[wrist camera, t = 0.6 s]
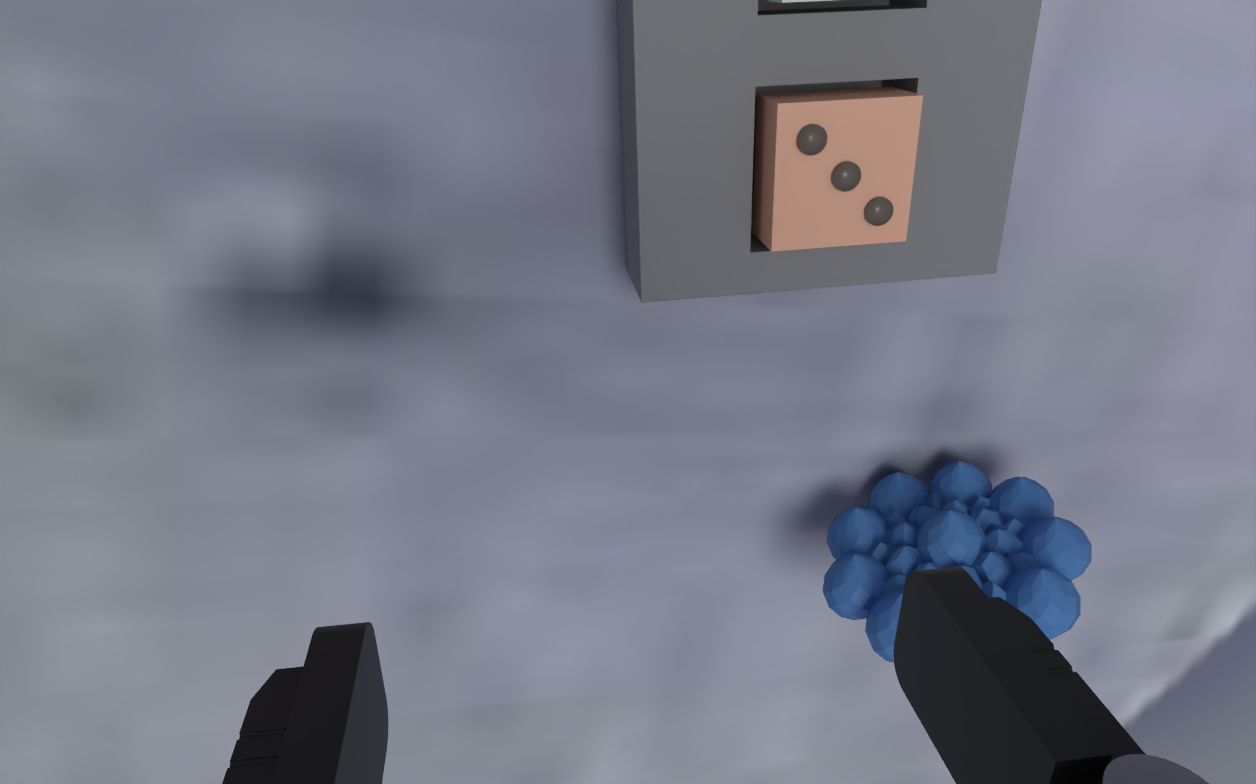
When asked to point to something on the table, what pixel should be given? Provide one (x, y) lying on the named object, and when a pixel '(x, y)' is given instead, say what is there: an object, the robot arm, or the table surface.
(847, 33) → the button board
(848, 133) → the three dot tile
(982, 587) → the grapes
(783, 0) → the two dot tile
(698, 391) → the table surface
